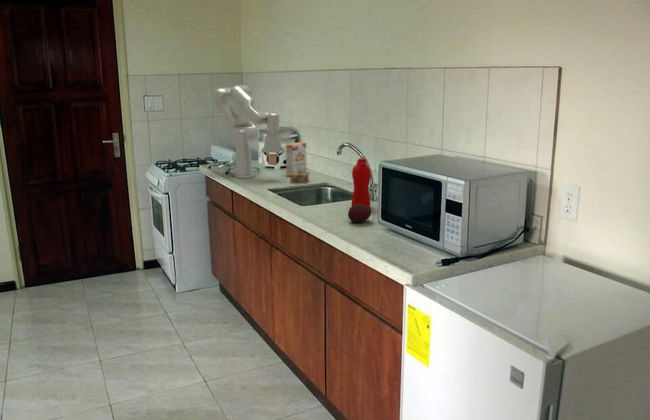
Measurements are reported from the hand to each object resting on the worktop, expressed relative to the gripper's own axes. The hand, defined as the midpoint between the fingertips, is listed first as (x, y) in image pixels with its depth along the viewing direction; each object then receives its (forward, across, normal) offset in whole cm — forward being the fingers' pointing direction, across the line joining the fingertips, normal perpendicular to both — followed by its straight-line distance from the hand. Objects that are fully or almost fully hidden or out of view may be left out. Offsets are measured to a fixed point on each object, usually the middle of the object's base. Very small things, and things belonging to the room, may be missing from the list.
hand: (272, 162), depth 328 cm
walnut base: (+11, +17, -1) cm, 20 cm away
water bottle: (+9, +56, -63) cm, 84 cm away
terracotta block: (+1, 0, 0) cm, 1 cm away
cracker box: (+12, +12, +19) cm, 26 cm away
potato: (+8, +57, -88) cm, 105 cm away
